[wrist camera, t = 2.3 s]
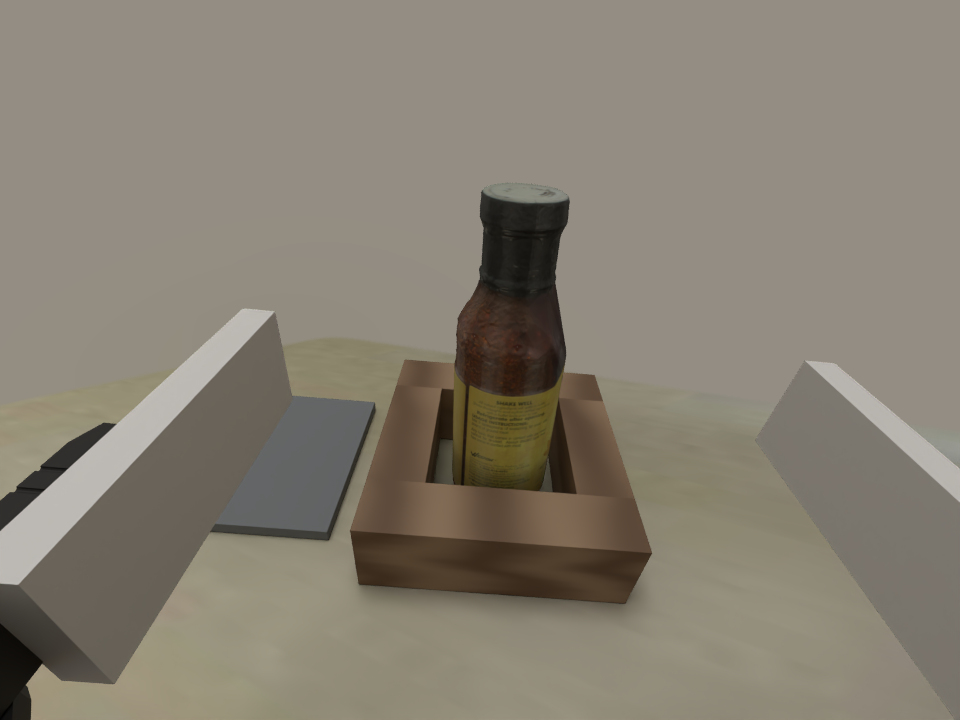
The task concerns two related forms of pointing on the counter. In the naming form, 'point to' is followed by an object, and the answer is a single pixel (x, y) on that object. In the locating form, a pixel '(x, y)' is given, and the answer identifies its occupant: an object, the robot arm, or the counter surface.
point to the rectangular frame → (498, 505)
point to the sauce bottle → (510, 342)
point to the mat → (300, 471)
